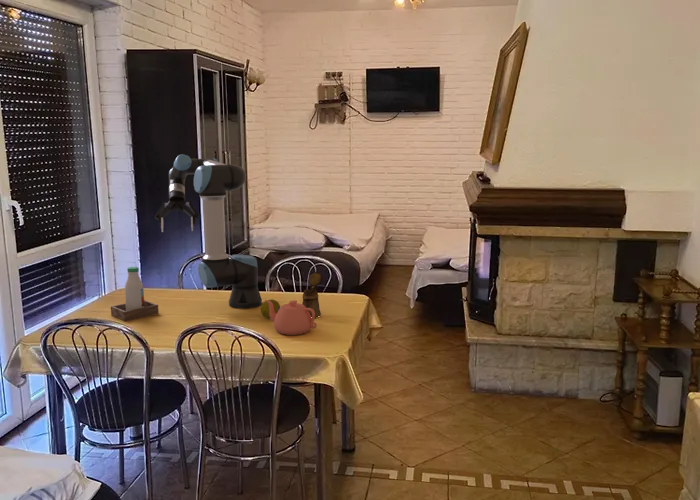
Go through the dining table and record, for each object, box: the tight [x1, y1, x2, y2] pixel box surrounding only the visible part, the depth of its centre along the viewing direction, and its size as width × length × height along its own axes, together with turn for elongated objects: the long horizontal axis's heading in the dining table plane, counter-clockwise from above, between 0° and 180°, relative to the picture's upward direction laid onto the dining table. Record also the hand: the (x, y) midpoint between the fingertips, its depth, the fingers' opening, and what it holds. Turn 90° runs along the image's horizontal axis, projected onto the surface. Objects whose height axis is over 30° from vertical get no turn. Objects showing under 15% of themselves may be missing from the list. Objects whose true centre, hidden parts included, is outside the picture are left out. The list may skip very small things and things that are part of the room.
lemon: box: [260, 299, 281, 320], centre depth 274 cm, size 11×8×8 cm
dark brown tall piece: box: [301, 271, 323, 317], centre depth 278 cm, size 9×14×18 cm, turn 164°
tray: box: [110, 299, 160, 322], centre depth 278 cm, size 13×16×4 cm
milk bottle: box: [124, 266, 145, 311], centre depth 276 cm, size 8×8×20 cm
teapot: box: [264, 299, 318, 336], centre depth 255 cm, size 22×16×12 cm
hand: (177, 229), depth 299 cm, fingers open, 13 cm apart
